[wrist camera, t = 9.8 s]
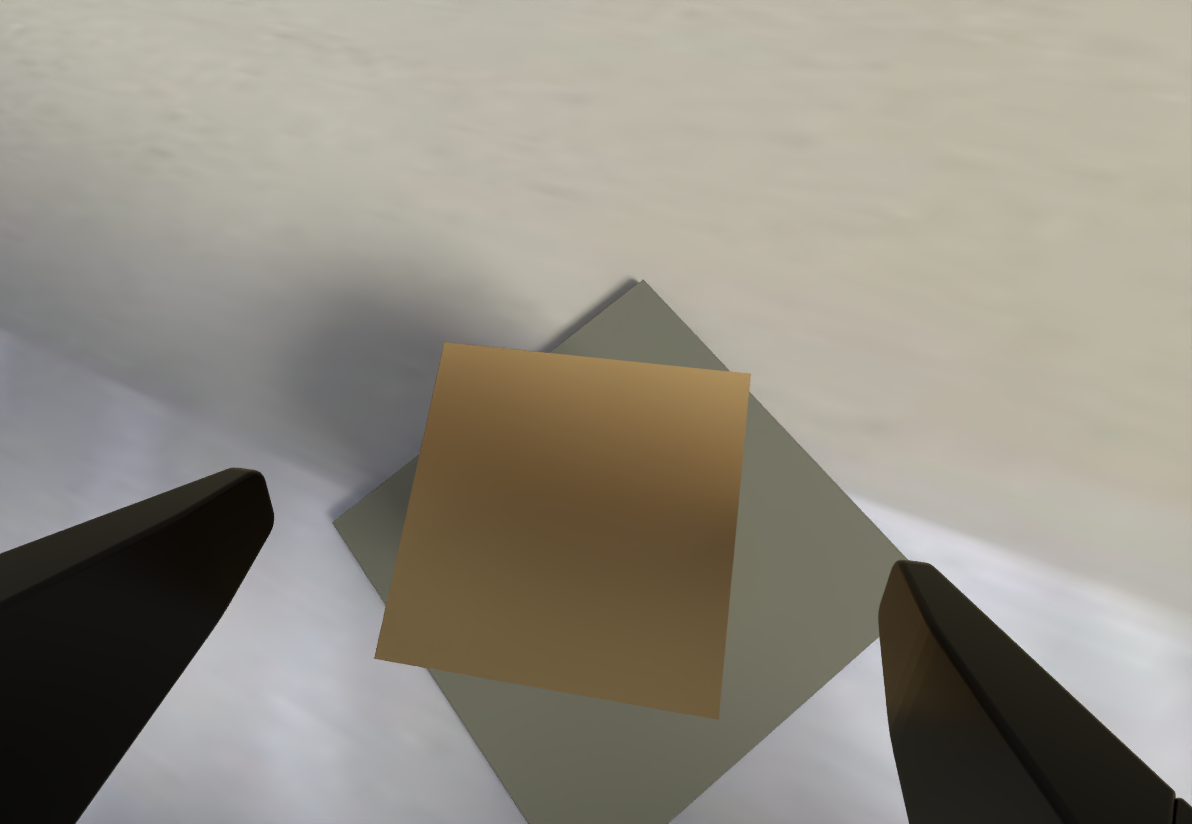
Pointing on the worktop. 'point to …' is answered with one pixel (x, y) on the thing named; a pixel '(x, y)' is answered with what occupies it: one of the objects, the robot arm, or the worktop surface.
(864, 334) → the worktop surface
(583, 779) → the slate mat
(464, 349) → the oak block
